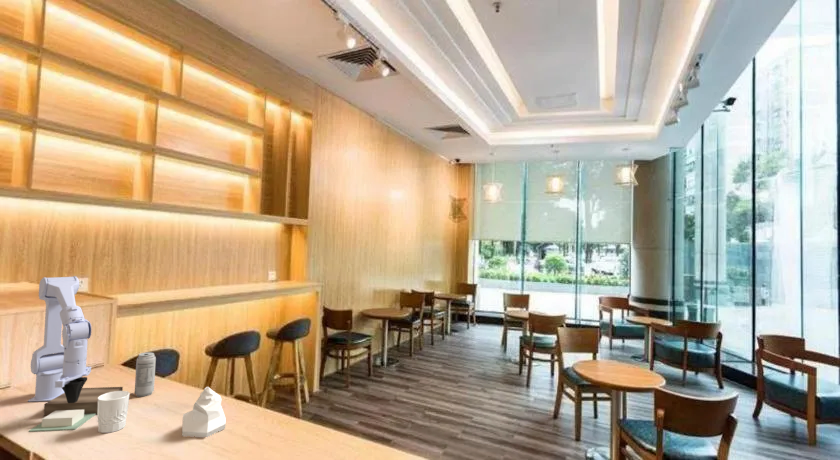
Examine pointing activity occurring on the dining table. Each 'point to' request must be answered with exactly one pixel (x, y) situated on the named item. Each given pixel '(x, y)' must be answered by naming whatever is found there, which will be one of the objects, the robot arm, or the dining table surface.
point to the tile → (62, 418)
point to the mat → (58, 428)
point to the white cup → (112, 411)
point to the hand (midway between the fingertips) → (72, 402)
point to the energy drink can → (145, 374)
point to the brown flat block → (79, 401)
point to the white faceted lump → (204, 416)
